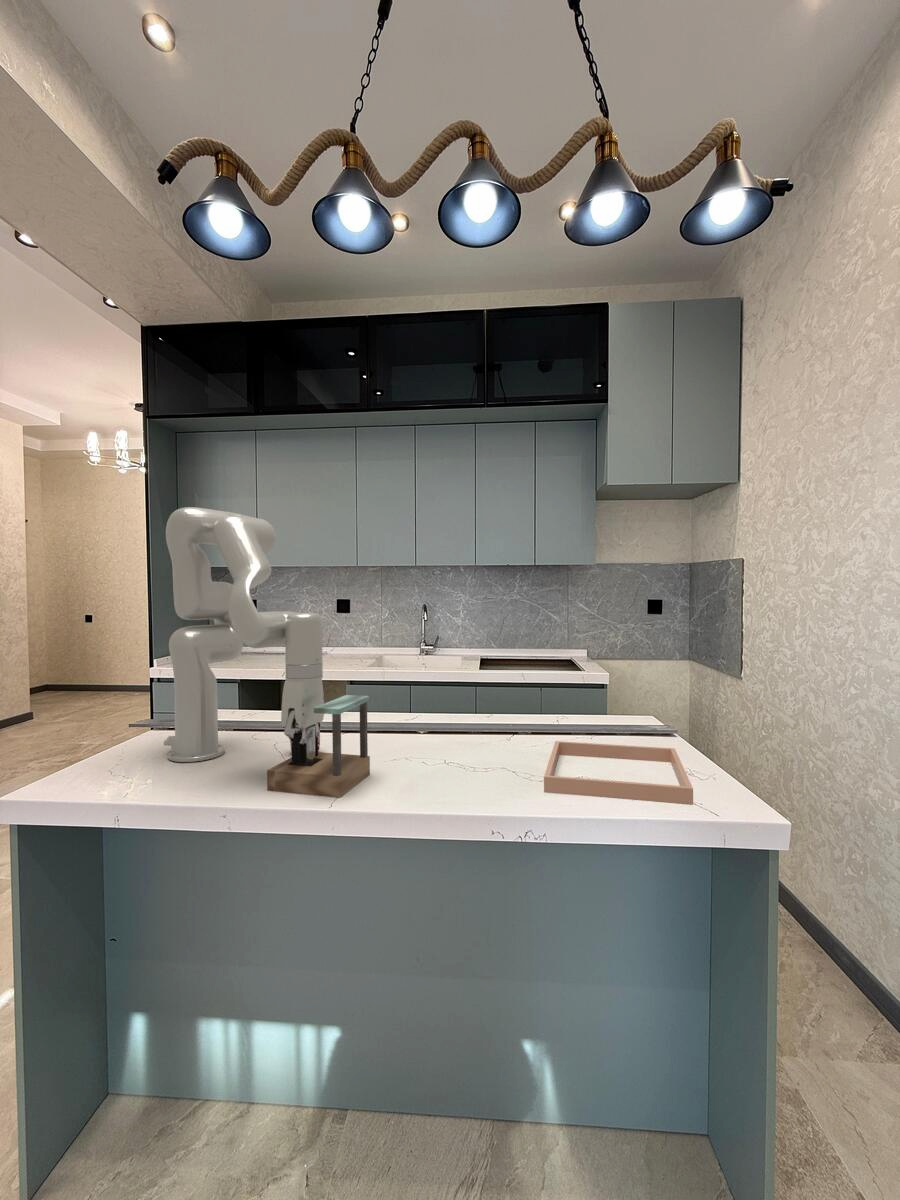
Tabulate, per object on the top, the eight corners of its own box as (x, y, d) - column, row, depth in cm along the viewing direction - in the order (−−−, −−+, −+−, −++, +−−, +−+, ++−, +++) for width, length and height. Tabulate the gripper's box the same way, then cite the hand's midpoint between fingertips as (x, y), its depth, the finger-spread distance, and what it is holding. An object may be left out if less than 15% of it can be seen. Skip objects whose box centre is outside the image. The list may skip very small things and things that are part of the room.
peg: (292, 776, 115) (291, 728, 114) (302, 770, 118) (301, 723, 118) (309, 777, 114) (308, 729, 113) (318, 771, 117) (318, 724, 117)
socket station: (267, 790, 110) (266, 705, 110) (303, 768, 124) (303, 693, 124) (340, 797, 106) (339, 709, 106) (369, 774, 120) (369, 696, 119)
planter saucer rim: (544, 792, 108) (543, 776, 108) (555, 753, 134) (555, 741, 134) (693, 805, 101) (693, 788, 101) (674, 761, 127) (674, 748, 127)
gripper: (308, 666, 125) (309, 747, 125) (265, 677, 109) (266, 770, 109) (338, 667, 123) (339, 749, 123) (299, 678, 107) (300, 773, 107)
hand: (305, 758), depth 116 cm, fingers closed on peg, 3 cm apart
